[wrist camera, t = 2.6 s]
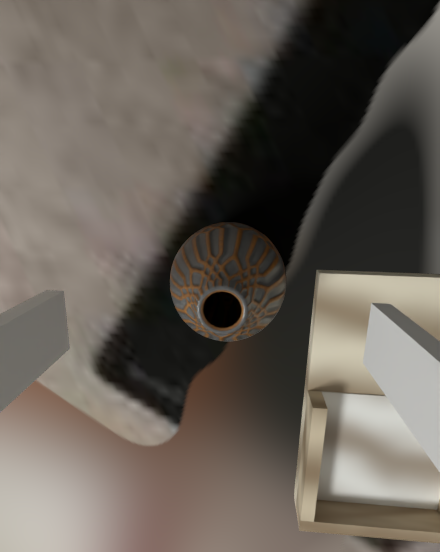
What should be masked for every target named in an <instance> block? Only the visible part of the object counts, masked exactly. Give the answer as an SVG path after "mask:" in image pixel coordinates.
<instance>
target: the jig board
mask: <svg viewBox="0 0 440 552" xmlns="http://www.w3.org/2000/svg"><path fill="white" fill-rule="evenodd" d="M371 303H385V304H391V305H393V306H394V307H395V308H397V309H398V310H399V311H401V312H402V313H403V314H404V315H406V316H407V317H408V318H410V319H411V320H412V321H414V322H415V323H416V324H418V325H419V326H420V327H421V328H423V329H424V330H425V331H427V332H428V333H429V334H431V335H432V336H433V337H435V338H436V339H437V340H439V341H440V274H422V273H419V274H418V273H395V272H394V273H393V272H366V271H339V270H317V271H316V280H315V290H314V300H313V310H312V321H311V332H310V340H309V350H308V351H309V352H308V361H307V371H306V381H305V391H304V401H303V411H302V421H301V431H300V441H299V451H298V461H297V472H296V481H295V491H294V498H295V505H296V511H297V517H298V524H299V530H300V531H310V532H321V533H331V534H342V535H353V536H364V537H375V538H387V539H398V540H409V541H420V542H431V543H440V472H439V471H438V469H437V468H436V467H435V465H434V464H433V462H432V461H431V459H430V458H429V457H428V455H427V454H426V452H425V451H424V450H423V448H422V447H421V445H420V444H419V442H418V441H417V440H416V438H415V437H414V435H413V434H412V432H411V431H410V430H409V428H408V427H407V425H406V424H405V422H404V421H403V420H402V418H401V417H400V415H399V414H398V412H397V411H396V410H395V408H394V407H393V405H392V404H391V402H390V401H389V400H388V398H387V397H386V395H385V394H384V392H383V391H382V390H381V388H380V387H379V385H378V384H377V382H376V381H375V380H374V378H373V377H372V375H371V374H370V373H369V371H368V370H367V368H366V367H365V365H364V364H363V358H364V351H365V344H366V337H367V330H368V323H369V316H370V309H371Z"/></svg>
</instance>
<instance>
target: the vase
mask: <svg viewBox="0 0 440 552" xmlns="http://www.w3.org/2000/svg"><path fill="white" fill-rule="evenodd" d="M170 289H171V295H172V299H173V302H174V305H175V307H176V309H177V311H178V313H179V315H180V316H181V318H182V319H183V320H184V321H185V323H186V324H187V325H188V326H190V327H191V328H192V329H193V330H195V331H196V332H197V333H199V334H201V335H203V336H205V337H208V338H210V339H214V340H219V341H236V340H241V339H244V338H247V337H250V336H252V335H254V334H256V333H258V332H259V331H261V330H262V329H263V328H265V327H266V326H267V325H268V324H269V323H270V322H271V321H272V319H273V318H274V317H275V315H276V314H277V312H278V311H279V309H280V306H281V304H282V302H283V299H284V295H285V290H286V272H285V267H284V264H283V261H282V258H281V256H280V254H279V252H278V250H277V249H276V247H275V246H274V244H273V243H272V242H271V241H270V240H269V239H268V238H267V237H266V236H265V235H264V234H262V233H261V232H259V231H258V230H256V229H254V228H252V227H250V226H248V225H245V224H241V223H234V222H223V223H217V224H213V225H210V226H207V227H205V228H203V229H201V230H199V231H198V232H196V233H195V234H193V235H192V236H191V237H190V238H189V239H188V240H187V241H186V242H185V243H184V244H183V245H182V247H181V248H180V249H179V251H178V253H177V255H176V257H175V259H174V262H173V265H172V269H171V274H170Z"/></svg>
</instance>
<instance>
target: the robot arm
mask: <svg viewBox="0 0 440 552" xmlns="http://www.w3.org/2000/svg"><path fill="white" fill-rule="evenodd" d="M69 349H70V347H69V337H68V327H67V317H66V308H65V298H64V291H54V290H46V291H44V292H42V293H40V294H38V295H36V296H35V297H33V298H31V299H29V300H27V301H25V302H23V303H21V304H19V305H17V306H15V307H13V308H11V309H9V310H7V311H5V312H3V313H1V314H0V412H1V411H2V410H3V409H4V408H5V407H6V406H8V405H9V404H10V403H11V402H12V401H13V400H14V399H15V398H16V397H17V396H19V395H20V394H21V393H22V392H23V391H24V390H25V389H26V388H27V387H28V386H29V385H31V384H32V383H33V382H34V381H35V380H36V379H37V378H38V377H39V376H40V375H41V374H43V373H44V372H45V371H46V370H47V369H48V368H49V367H50V366H51V365H52V364H53V363H54V362H56V361H57V360H58V359H59V358H60V357H61V356H62V355H63V354H64V353H65V352H66V351H68V350H69ZM363 364H364V365H365V367H366V368H367V370H368V371H369V373H370V374H371V375H372V377H373V378H374V380H375V381H376V382H377V384H378V385H379V387H380V388H381V390H382V391H383V392H384V394H385V395H386V397H387V398H388V400H389V401H390V402H391V404H392V405H393V407H394V408H395V410H396V411H397V412H398V414H399V415H400V417H401V418H402V420H403V421H404V422H405V424H406V425H407V427H408V428H409V430H410V431H411V432H412V434H413V435H414V437H415V438H416V440H417V441H418V442H419V444H420V445H421V447H422V448H423V450H424V451H425V452H426V454H427V455H428V457H429V458H430V459H431V461H432V462H433V464H434V465H435V467H436V468H437V469H438V471H439V472H440V341H439V340H437V339H436V338H435V337H433V336H432V335H431V334H429V333H428V332H427V331H425V330H424V329H423V328H421V327H420V326H419V325H418V324H416V323H415V322H414V321H412V320H411V319H410V318H408V317H407V316H406V315H404V314H403V313H402V312H401V311H399V310H398V309H397V308H395V307H394V306H393V305H391V304H385V303H371V309H370V316H369V323H368V330H367V337H366V344H365V351H364V358H363Z"/></svg>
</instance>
